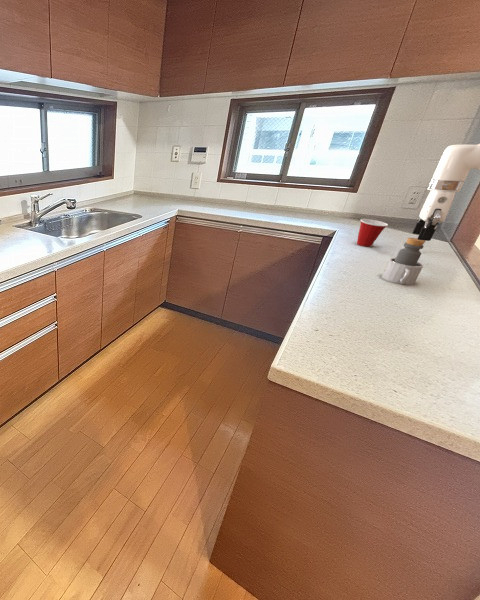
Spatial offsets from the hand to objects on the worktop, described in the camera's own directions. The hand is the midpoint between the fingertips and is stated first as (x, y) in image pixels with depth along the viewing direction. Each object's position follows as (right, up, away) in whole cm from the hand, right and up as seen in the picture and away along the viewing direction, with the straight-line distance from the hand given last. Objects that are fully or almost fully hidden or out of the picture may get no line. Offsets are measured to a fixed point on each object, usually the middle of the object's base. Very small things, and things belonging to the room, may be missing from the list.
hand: (420, 237), depth 114 cm
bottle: (-1, -14, +8) cm, 16 cm away
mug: (-2, -15, +6) cm, 17 cm away
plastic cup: (+23, +5, +49) cm, 54 cm away
